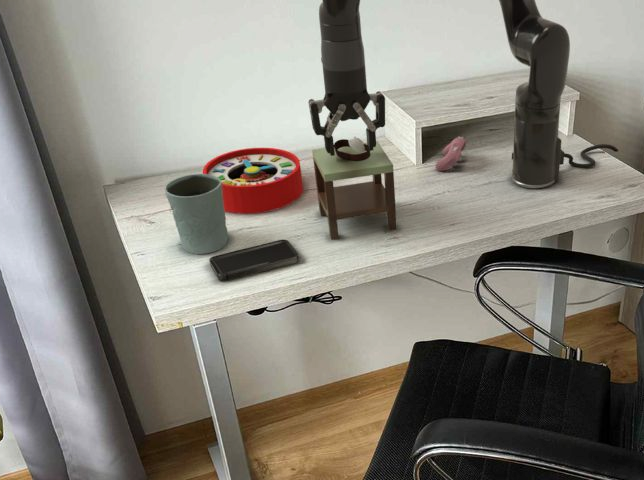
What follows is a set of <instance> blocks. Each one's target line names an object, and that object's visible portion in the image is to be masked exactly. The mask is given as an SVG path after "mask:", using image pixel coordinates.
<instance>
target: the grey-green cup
mask: <svg viewBox="0 0 644 480" xmlns="http://www.w3.org/2000/svg"><path fill="white" fill-rule="evenodd" d="M164 192H165V195H166V198H167V201H168V204H169V206H170V209H171V211H172V217H173V220H174V222H175V227H176V229H177V232H178V236H179V240H180V243H181V246H182V248H183V250H184V251H186V252H187V253H190V254H195V255H205V254H211V253H214V252H218V251H220V250H222V249H223V248H225V247H226V246H227V244H228V242H229V235H228V227H227V226H226V224H227V217H226V211H225V209H224V204H223V190H222V182H221V180H220V178H218V177H216V176H213V175H209V174H203V173H196V174H188V175H182V176H180V177H177V178H175V179H173V180H171V181H169V182H168V183H167V184H166V185H165V187H164Z"/></svg>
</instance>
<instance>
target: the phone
mask: <svg viewBox="0 0 644 480" xmlns="http://www.w3.org/2000/svg"><path fill="white" fill-rule="evenodd" d="M208 261H209V265H210V267H211V269H212V271H213V273H214V274H215V276H216V278H217V279H218V281H220V282H227V281H231V280H235V279H239V278H242V277H247V276H251V275H254V274H258V273H262V272H266V271H270V270H274V269H278V268H281V267H285V266H290V265H293V264H296V263H298V262H300V256H299V253H298V251H297V250H296V249H295V248H294V246H293V245H292V244H291V243H290V240H287V239H278V240H274V241H270V242H266V243H262V244H257V245H254V246H249V247H246V248H242V249H238V250H233V251H230V252H229V251H228V252H224V253H221V254H216V255H214V256H213V255H212V256H211V257H209V258H208Z"/></svg>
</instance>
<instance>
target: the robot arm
mask: <svg viewBox="0 0 644 480" xmlns="http://www.w3.org/2000/svg"><path fill="white" fill-rule="evenodd" d="M498 2H499V5H500V9H501V14H502V19H503V24H504V28H505V33H506V38H507V42H508V46H509V49H510V52H511V54H512V56H513V57H514V59H516V60H517V61H518V62H519V63H521V64H523V65H525V66H527V67H529V77H528V81H527V82H523V83H521V84H519V85H518V86H516V89H515V95H514V96H515V97H514V124H513V125H514V126H513V149H512V150H513V151H512V153H511V160H512V170H511V181H512V183H514V184H515V185H516V186H519V187H522V188H525V189H543V188H544V189H545V188H547V187H550V186H552V185H554V184H555V183H559V180H560V179H559V178H560V166H561V165H564V163H565V158H567V159H568V164H569V165H570V166H572V167H573V168H578V169H579V168H580V169H590V168H592V167H594V166H595V165H596V161H595V159H594V158H592V157H590V156H588V155H587V153H588V152H591V151H594V150H595V151H596V150H598V149H609V150H611V151H613V152H615V153H616V152H619V149H618V148H617V147H615V146H614V145H612V144H607V143H602V144H594V145H591V146H589V147H586V148H584V149H583V150H581V151H580V154H579V155H580V157H581V158H582V159H583V160H585V161H587V162H589V163H578V162H575V161H574V157H573V155H572V154H570V153H565V151H564V150H563V149H562V139H561V138H560V137H559V126H560V114H561V113H560V112H561V101H562V95H563V93H564V90H565V88H566V84H567V76H568V69H569V62H570V53H571V52H570V51H571V41H570V34H569V32H568V31H567V29H566V28H565V26H563V25H561V24H560V23H558V22H555V21H552V20H549V19H547V18H543V16H542V14H541V13H540V10H539V8H538V6H537V3H536V0H498ZM360 4H361V0H322V2H321V3H320V4H319V8H318V21H319V30H320V31H319V33H320V41H321V42H320V55H321V57H320V60H321V61H320V62H321V65H322V74H323V84H324V85H323V86H324V96H323V99H317V100H315V99H313V98H310V99H309V100H308V102H307V103H308V108H309V114H310V120H311V126H312V130H313V132H314V133H315V135H316V136H322V137H323V141H324V148H325V149H326V151H327V153H330V155H331V156H334V155H335V152H334V143H335V142H334V137H333V134H334V131H335V130H336V128H337V127H338V125H339V124H340V123H339V122H346V121H349V120H351V121H352V120H353V121H354V120H359V118H361V120H362V121H363V123H364V124H365V125H366V129H365V132H366V133H365V134H366V143H367V145H368V146H369V149H370V151H372V150H373V147H376V141H377V135H376V134H377V130H378V129H380V128H384V127H385V126H386V96H385V95H384V94H383V93H382V91H380V90H379V91H376V92H375V93H369V92H368V86H367V72H366V57H365V47H364V42H363V36H362V23H361V12H360ZM370 102H371V103H372V104H373V106H375V118H374V119H371V118H370V117H369V116H368V114H367V112H366V109H367V107H368V105H369V104H370ZM324 107H325V108H326V109H327V110H328V111H329V113H328V115H327V117H326V121H325V123H324V126H322V125H321V120H320V114H321V113H322V112H323V108H324Z"/></svg>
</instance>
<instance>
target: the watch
mask: <svg viewBox="0 0 644 480" xmlns="http://www.w3.org/2000/svg"><path fill="white" fill-rule="evenodd" d="M333 143H334V149H335V152H336V155H337V156H338V157H340V158H342V159H343V160H347V161H348V160H350V161H363V160H366V159H368V158H369V157H370V155H371V154H370V149H369V146H368V145H367V144H364V143H365V142H364V141H363V140H362V139H361V138H359V137H357V136H353V137H351V138H350V139H346V138H345V139H344V138H343V139H338V140H336V141H334V142H333ZM341 147H351V148H352V149H353V150H355V151H356V152H359V153H361V154H349V153H344V152H342V151H341V152H340V151H338V149H339V148H341ZM363 151H366V152H364V153H362V152H363Z"/></svg>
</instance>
